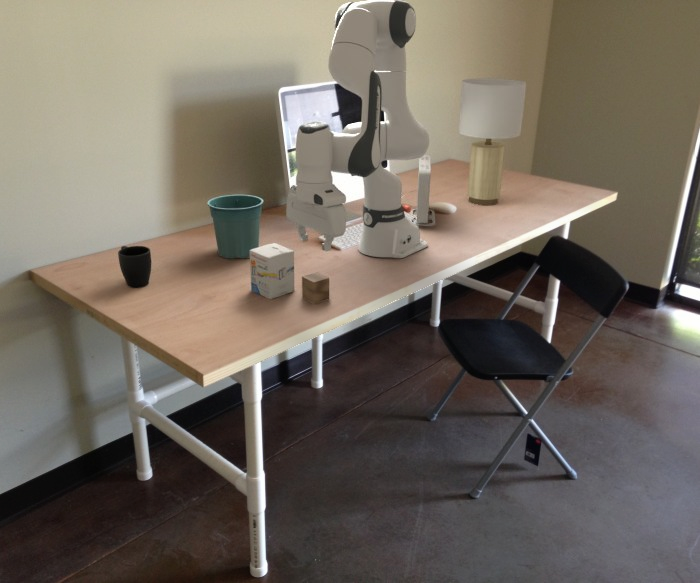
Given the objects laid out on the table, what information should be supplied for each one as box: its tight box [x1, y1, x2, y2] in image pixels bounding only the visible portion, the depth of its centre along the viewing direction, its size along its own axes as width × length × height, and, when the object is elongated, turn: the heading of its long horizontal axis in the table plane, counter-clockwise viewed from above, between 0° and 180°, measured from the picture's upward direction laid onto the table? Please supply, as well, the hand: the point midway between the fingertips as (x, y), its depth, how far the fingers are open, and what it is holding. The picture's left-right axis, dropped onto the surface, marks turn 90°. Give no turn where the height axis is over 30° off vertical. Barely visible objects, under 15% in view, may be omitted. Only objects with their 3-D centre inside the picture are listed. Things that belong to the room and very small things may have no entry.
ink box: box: [249, 242, 296, 300], centre depth 178 cm, size 9×8×12 cm
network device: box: [409, 154, 436, 227], centre depth 237 cm, size 26×9×20 cm, turn 175°
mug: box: [117, 245, 152, 289], centre depth 183 cm, size 8×12×10 cm
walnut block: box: [301, 271, 330, 305], centre depth 175 cm, size 5×5×6 cm
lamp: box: [458, 77, 527, 206], centre depth 253 cm, size 23×23×44 cm
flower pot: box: [207, 194, 264, 260], centre depth 203 cm, size 16×16×16 cm
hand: (314, 245), depth 170 cm, fingers open, 8 cm apart
